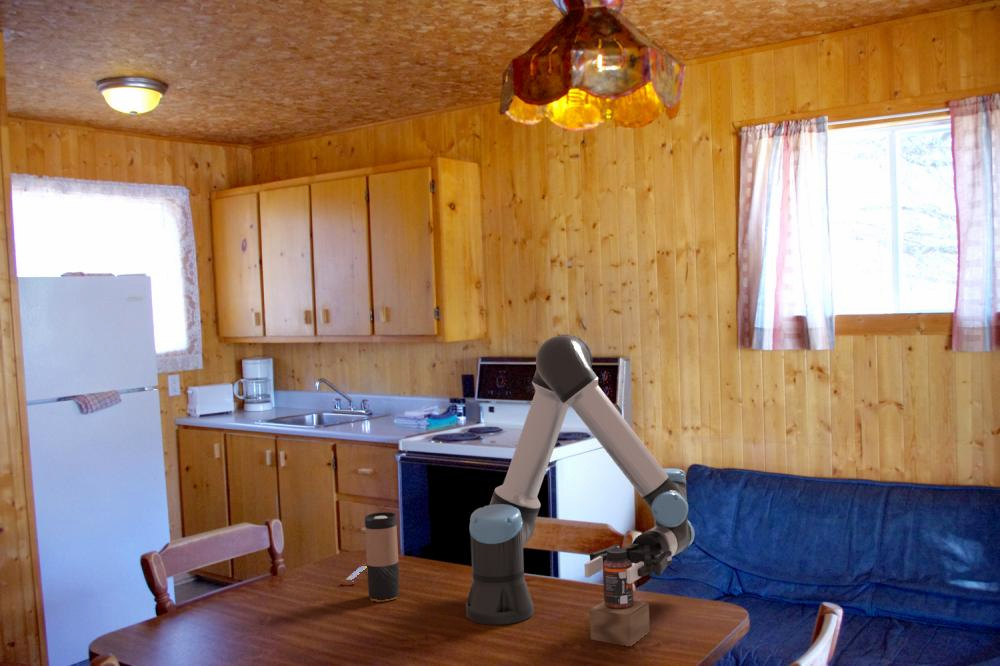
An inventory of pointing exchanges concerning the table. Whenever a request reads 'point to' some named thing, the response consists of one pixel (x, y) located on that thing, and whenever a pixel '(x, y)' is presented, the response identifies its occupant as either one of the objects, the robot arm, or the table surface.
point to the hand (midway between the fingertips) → (607, 573)
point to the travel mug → (382, 555)
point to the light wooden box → (619, 623)
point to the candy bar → (356, 573)
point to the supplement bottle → (617, 579)
